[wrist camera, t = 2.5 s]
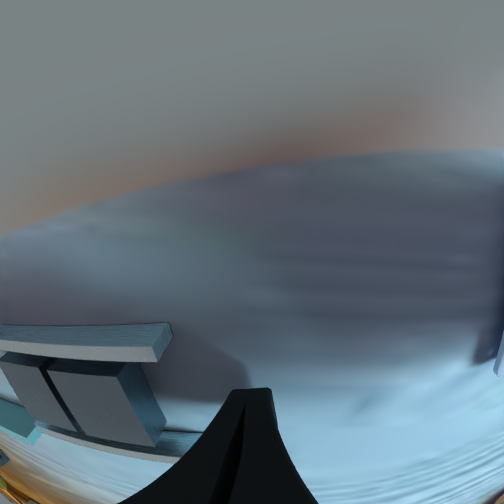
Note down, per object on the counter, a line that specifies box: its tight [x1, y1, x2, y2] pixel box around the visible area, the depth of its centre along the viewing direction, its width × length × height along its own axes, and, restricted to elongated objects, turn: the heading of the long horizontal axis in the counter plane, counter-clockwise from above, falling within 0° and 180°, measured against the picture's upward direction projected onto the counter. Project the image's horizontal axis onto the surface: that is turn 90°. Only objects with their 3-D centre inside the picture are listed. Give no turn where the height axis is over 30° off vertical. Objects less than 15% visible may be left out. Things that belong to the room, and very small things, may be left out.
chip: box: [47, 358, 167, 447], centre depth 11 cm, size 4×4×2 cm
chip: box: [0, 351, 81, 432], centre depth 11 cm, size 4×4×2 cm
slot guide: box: [0, 323, 203, 464], centre depth 11 cm, size 11×7×2 cm, turn 100°
